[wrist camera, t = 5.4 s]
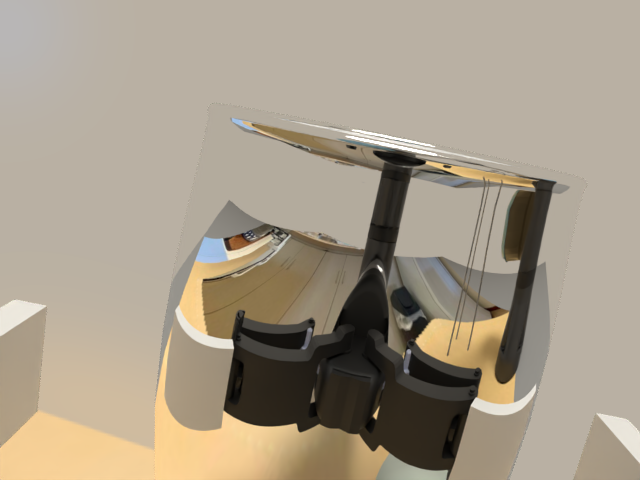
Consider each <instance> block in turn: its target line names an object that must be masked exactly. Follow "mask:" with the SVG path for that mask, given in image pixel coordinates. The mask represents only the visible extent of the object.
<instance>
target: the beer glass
mask: <svg viewBox="0 0 640 480" xmlns="http://www.w3.org/2000/svg"><path fill="white" fill-rule="evenodd" d="M586 187H587V181H586V180H585V179H584V178H581V177H578V176H575V175H571V174H567V173H563V172H559V171H555V170H551V169H546V168H542V167H538V166H533V165H529V164H524V163H520V162H515V161H511V160H506V159H501V158H497V157H492V156H488V155H483V154H478V153H473V152H469V151H464V150H459V149H454V148H450V147H445V146H440V145H435V144H430V143H426V142H421V141H416V140H411V139H406V138H401V137H396V136H391V135H386V134H381V133H376V132H371V131H366V130H361V129H356V128H351V127H346V126H341V125H336V124H331V123H326V122H320V121H315V120H310V119H305V118H300V117H295V116H289V115H284V114H279V113H273V112H268V111H262V110H257V109H251V108H246V107H240V106H234V105H227V104H220V103H212V104H210V105H209V107H208V120H207V126H206V131H205V136H204V140H203V145H202V149H201V154H200V158H199V163H198V167H197V171H196V175H195V179H194V183H193V187H192V191H191V195H190V199H189V203H188V208H187V212H186V216H185V221H184V226H183V230H182V234H181V239H180V243H179V248H178V252H177V257H176V261H175V266H174V271H173V276H172V282H171V288H170V293H169V299H168V304H167V310H166V316H165V321H164V327H163V334H162V343H161V351H160V361H159V370H158V379H157V388H156V398H155V461H154V475H155V480H510V477H511V474H512V471H513V468H514V465H515V462H516V459H517V457H518V454H519V451H520V448H521V445H522V442H523V440H524V436H525V434H526V431H527V428H528V425H529V422H530V419H531V415H532V411H533V408H534V404H535V400H536V397H537V393H538V389H539V386H540V382H541V378H542V375H543V371H544V367H545V363H546V360H547V356H548V352H549V347H550V343H551V338H552V334H553V329H554V325H555V320H556V316H557V311H558V306H559V302H560V298H561V293H562V288H563V282H564V278H565V272H566V267H567V263H568V257H569V252H570V247H571V242H572V237H573V233H574V229H575V224H576V219H577V214H578V210H579V207H580V203H581V199H582V195H583V193H584V190H585V188H586Z"/></svg>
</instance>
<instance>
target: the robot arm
mask: <svg viewBox="0 0 640 480" xmlns="http://www.w3.org/2000/svg"><path fill="white" fill-rule="evenodd" d="M46 312H47V306H45V305H40V304H35V303H30V302H24V301H19V300H13V301H11V302H10V303H8V304H6V305H4V306H2V307H1V308H0V447H1V446H2V445H3V444H4V443H5V442H6V441H7V440H9V439H10V438H11V437H12V436H13V435H14V434H15V433H16V432H17V431H18V430H19V429H20V428H21V427H22V426H23V425H24V424H25V423H26V422H27V421H28V420H29V419H30V418H31V417H32V416H33V415H34V414H35V413H36V412H37V409H38V398H39V387H40V377H41V366H42V355H43V344H44V333H45V322H46ZM573 480H640V432H639V431H638V430H637V429H636V428H635V427H634V426H633V425H632V424H631V423H630V421H629V420H628V419H624V418H619V417H614V416H609V415H604V414H598V413H596V414H595V416H594V420H593V422H592V425H591V428H590V431H589V434H588V437H587V440H586V443H585V446H584V449H583V452H582V455H581V458H580V461H579V464H578V467H577V470H576V473H575V476H574V479H573Z"/></svg>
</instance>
